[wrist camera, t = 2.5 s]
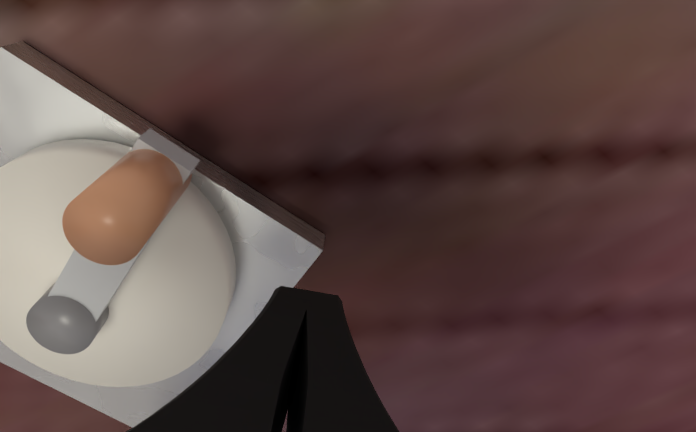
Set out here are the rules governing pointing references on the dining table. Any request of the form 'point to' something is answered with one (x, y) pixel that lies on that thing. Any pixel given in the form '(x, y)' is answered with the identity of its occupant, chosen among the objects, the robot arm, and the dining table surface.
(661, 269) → the dining table surface
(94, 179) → the white lever switch
